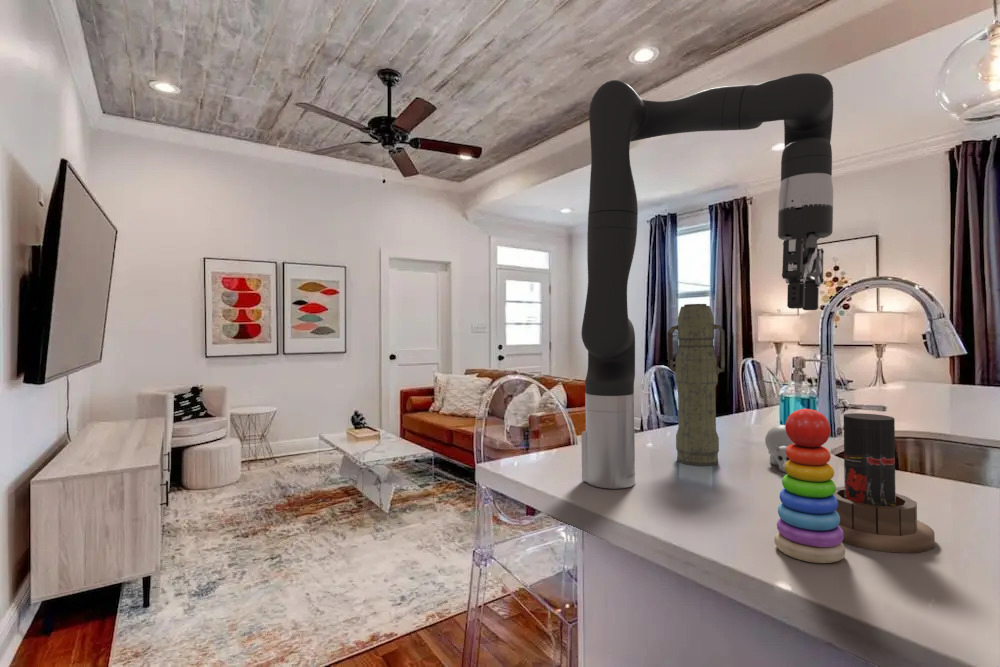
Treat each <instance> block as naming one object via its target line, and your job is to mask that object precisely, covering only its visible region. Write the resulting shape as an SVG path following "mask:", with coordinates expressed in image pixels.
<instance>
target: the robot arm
mask: <svg viewBox="0 0 1000 667" xmlns="http://www.w3.org/2000/svg"><path fill="white" fill-rule="evenodd" d="M588 110H589V111H588V112H589V113H588V119H589V120H588V121H589V136H590V137H589V139H590V149H591V150H590V158H591V159H590V161H591V162H590V176H589V177H590V178H589V179H590V182H589V198H588V200H589V202H588V212H587V213H588V214H587V236H586V237H587V252H586V253H587V254H586V255H587V257H586V258H587V288H586V289H587V290H586V298H585V304H584V306H585V307H584V310H583V311H584V312H583V319H582V324H581V333H580V334H581V340H582V344H583V345H584V347H585V349H586V350H587V370H586V371H587V372H586V375H585V376H586V377H585V381H584V392H585V393H584V395H585V399H584V400H585V401H584V402H585V407H584V408H585V430H583V431H581V440H580V442H581V481H582V482H586V483H587V484H588V485H591V486H593V487H597V488H603V489H613V490H615V489H617V490H618V489H628V488H630V487H633V486H634V485H635V484H636V467H635V466H636V459H635V458H636V457H635V456H636V455H635V454H636V450H635V446H636V444H635V440H636V439H635V436H636V435H635V378H636V377H635V376H636V334H635V332H636V331H635V328H634V325H633V323H632V321H631V319H630V318H629V311H628V310H629V309H628V282H629V278H630V277H629V276H630V273H631V272H630V271H631V267H632V265H633V264H632V263H633V259H634V255H635V250H636V244H637V235H638V218H639V217H638V216H639V215H638V214H639V213H638V210H639V209H638V207H639V206H638V198H637V191H636V186H635V179H634V176H633V171H632V168H631V167H632V166H631V159H630V145H631V142H636V141H641V140H645V139H651V138H657V137H662V136H663V137H664V136H669V135H674V134H675V135H676V134H683V133H684V134H685V133H695V132H696V133H697V132H715V131H716V132H717V131H718V132H719V131H720V132H721V131H724V132H726V131H744V130H745V131H748V130H754V129H757V128H759V127H760V126H761V125H762V124H763V123H767V122H777V121H783V128H784V137H783V138H784V148H783V151H782V154H781V161H780V187H779V193H778V212H777V213H778V216H777V217H778V218H777V219H778V220H777V221H778V223H777V237H778V238H779V239H780V240H782V241H783V243H782V246H783V247H782V248H783V250H782V269H781V270H782V273H781V276H782V277H781V278H782V279H784V281H785V283H786V285H787V298H786V299H787V301H786V303H787V304H786V306H787V308H789V309H791V310H792V309H793V310H795V309H796V310H797V309H798V310H799V309H802V310H803V311H817V310H818V309H819V297H820V296H819V291H820V290H819V288H820V287H821V285H823V283H824V281H825V280H824V254H825V250H824V248H823V247H818V240H819V239H825V238H828V237H830V236H832V234H833V232H834V231H833V230H834V229H833V227H834V226H833V225H834V224H833V222H834V221H833V220H834V218H833V217H834V186H833V179H832V178H833V176H832V175H833V172H832V171H833V151H832V144H831V140H832V131H833V128H832V127H833V118H834V117H833V115H834V87H833V85H832V82H831V81H830V80H829V78H827V77H825V76H824V75H822V74H819V73H813V72H804V73H803V72H802V73H796V74H789V75H786V76H782V77H779V78H778V77H777V78H774V79H770V80H767V81H764V82H761V83H757V84H743V85H730V86H729V85H728V86H727V85H726V86H717V87H713V88H709V89H705V90H701V91H699V92H696V93H693V94H691V95H689V96H684V97H682V98H677V99H673V100H672V99H671V100H664V101H663V100H660V101H659V100H648V99H642V98H641V96H640V95H639V94H638V93H637V92H636V91H635V90H634V89H633V87H632V86H630V85H629V84H628V83H626V82H624V81H622V80H618V79H614V80H608V81H607V82H604V83H603V84H602V85H601V86H600V87H599V88H598V89H597V90H596V91H595V93H594V94H593V97H592V99H591V102H590V106H589V109H588Z"/></svg>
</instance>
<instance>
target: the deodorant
mask: <svg viewBox="0 0 1000 667" xmlns="http://www.w3.org/2000/svg"><path fill="white" fill-rule="evenodd" d="M895 420H896V419H895V417H893V416H889V415H884V414H876V413H859V412H858V413H854V412H853V413H852V412H851V413H844V414H843V463H844V464H843V466H844V469H843V470H844V471H843V473H844V475H843V476H844V478H843V479H844V487H845V499H848V500H851V501H854V502H857V503H863V504H868V505H874V506H891V507H893V506H896V495H895V493H896V436H895V434H896V433H895V431H896V428H895V426H896V425H895V424H896V423H895Z"/></svg>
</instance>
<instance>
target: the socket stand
mask: <svg viewBox="0 0 1000 667" xmlns="http://www.w3.org/2000/svg"><path fill="white" fill-rule="evenodd" d="M833 495H834V496H835V497H836V499H837V501H838V507H837V509H836V510H835V511H836V512H837V513H838V514H839V516H840V523H839V525H838V526H839V527H840V528H841V529H842V530H843V533H844V538H843V541H842V543H843V544H846V545H847V544H848V545H851V546H854V547H855V546H856V547H859V548H864V549H867V550H874V551H879V552H880V551H881V552H887V553H898V554H914V553H923V552H928V551H930V550H932V549H933V548H934V547H935V546H936V545H935V544H936V543H935V542H936V541H935V539H936V538H935V531H934V529H933V528H932V527H931V526H929V525H928V524H926V523H924V522H923V521H920V520H918V506H917V505H918V502H917V501H915V500H914V499H912V498H910V497H908V496H906V495H903V494H899V493H896V492H895V495H896V506H893V507H891V506H874V505H868V504H863V503H857V502H854V501H851V500H848V499H845V486H836V491H835V493H834V494H833Z"/></svg>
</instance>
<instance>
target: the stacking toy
mask: <svg viewBox="0 0 1000 667" xmlns="http://www.w3.org/2000/svg"><path fill="white" fill-rule="evenodd" d="M786 418H787V419H786V420H785V424H784V425H785V429H786V433H787V435H788V437H789V438H790V440H791V441H792V442H794V443H795V444H791V445H789V446H788V447H787V448H786V455H787V457H788V458H789V459H790V460H788V461H787V462H786V464H785V471H786V474H785V475H784V476H783V477H782V479H781V484H782V487H783V488H782V489H781V491H780V493H779V500H780V502H781V503H780V504H779V505H778V508H777V514H778V516H779V518H778V520H777V522H776V529H777V531H778V532H776V533H775V535H774V544H775V546H776V548H777V549H779V551H780V552H782V553H783V554H785V555H787V556H788V557H791V558H793V559H797V560H799V561H804V562H809V563H815V564H831V563H836V562H839V561H841V560H843V559H844V557H845V556H846V552H847V551H846V547H845V544H844V542H842V541H843V538H844V533H843V530H842V529H841V528H840V527H839V526H838V525H839V523H840V516H839V514H838V513H837V512H836V511H835V510H836V509H837V507H838V501H837V499H836V497H835V496H834V495H833V494H834V493H835V491H836V487H837V486H836V484H835V482H834V480H832V479H833V478H834V475H835V470H834V468H833V466H832V465H831V464H829V462H830V460H831V452H830V450H828V449H827V447H824V446H823V445H824V444H826V443H827V441H828V440H829V438H830V436H831V432H832V431H831V424H830V422H829V420H828V418H827V417H826V416H825V415H824V414H823V413H821V412H820V411H818V410H815V409H811V408H801V409H797V410H795V411H793V412H791V413H790V414H789V416H788V417H786Z"/></svg>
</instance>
